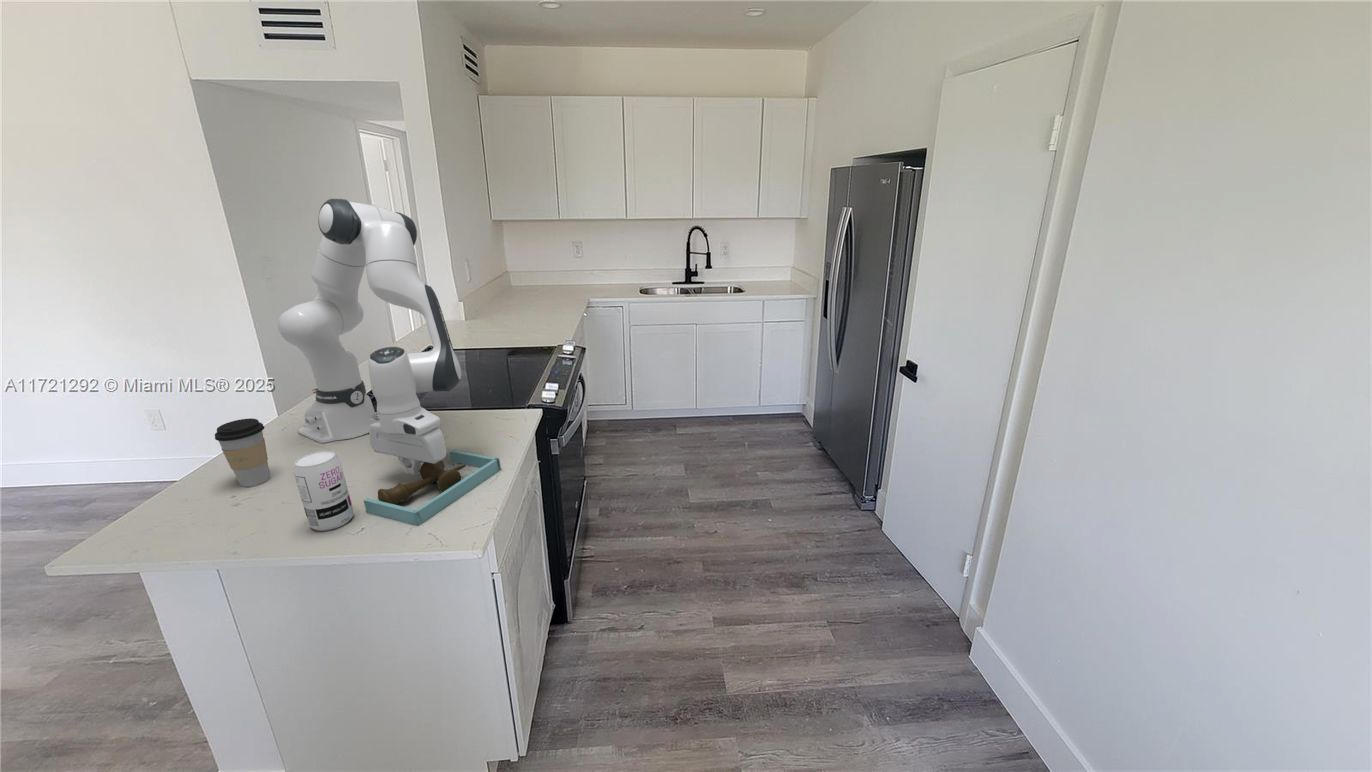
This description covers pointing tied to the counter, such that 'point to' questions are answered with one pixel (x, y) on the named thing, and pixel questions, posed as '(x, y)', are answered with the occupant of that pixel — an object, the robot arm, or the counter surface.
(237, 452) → the coffee cup
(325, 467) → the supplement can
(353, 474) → the counter surface
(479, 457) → the open rectangular frame
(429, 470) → the kendama
